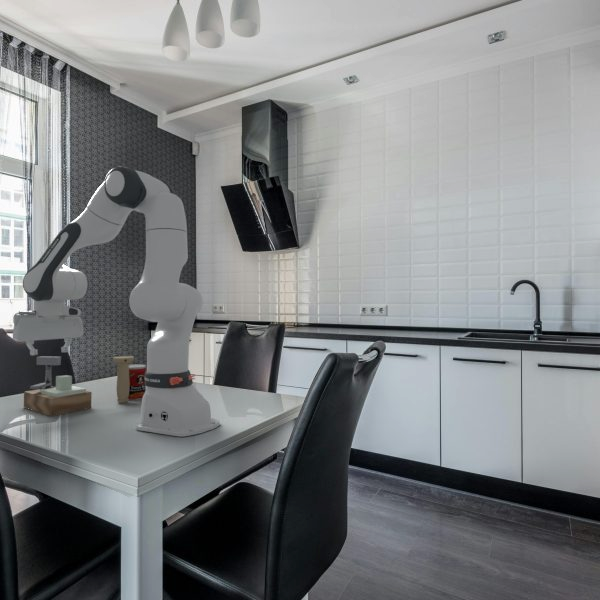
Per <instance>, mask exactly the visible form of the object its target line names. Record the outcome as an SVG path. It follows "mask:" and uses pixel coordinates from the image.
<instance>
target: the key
mask: <svg viewBox="0 0 600 600" xmlns="http://www.w3.org/2000/svg"><path fill="white" fill-rule="evenodd" d="M61 360H62V356H51V355H50V356H47V355H46V356H43V355H42V356H41V355H40V356H36V365H37V366H45V381H44V382H40V383H38V384H34V385H30V387H29V389H30V390H31V389H32V390H39V389H42V390H44V389H50V388H54V387H55V386H53V385H52V384H53V383H52V366H60V365H62V361H61Z"/></svg>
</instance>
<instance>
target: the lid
mask: <svg viewBox="0 0 600 600" xmlns="http://www.w3.org/2000/svg"><path fill="white" fill-rule="evenodd" d="M55 387H56V388H50V389H44V390H41V394H43V395H47V396H51V397H55V398H57V397H63V396H69V395H74V394H80V393H86V391H87V388H85V387H84V388H83V387H80V386H74V385H73V376H72V375H67V374H65V375H56V376H55Z"/></svg>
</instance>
